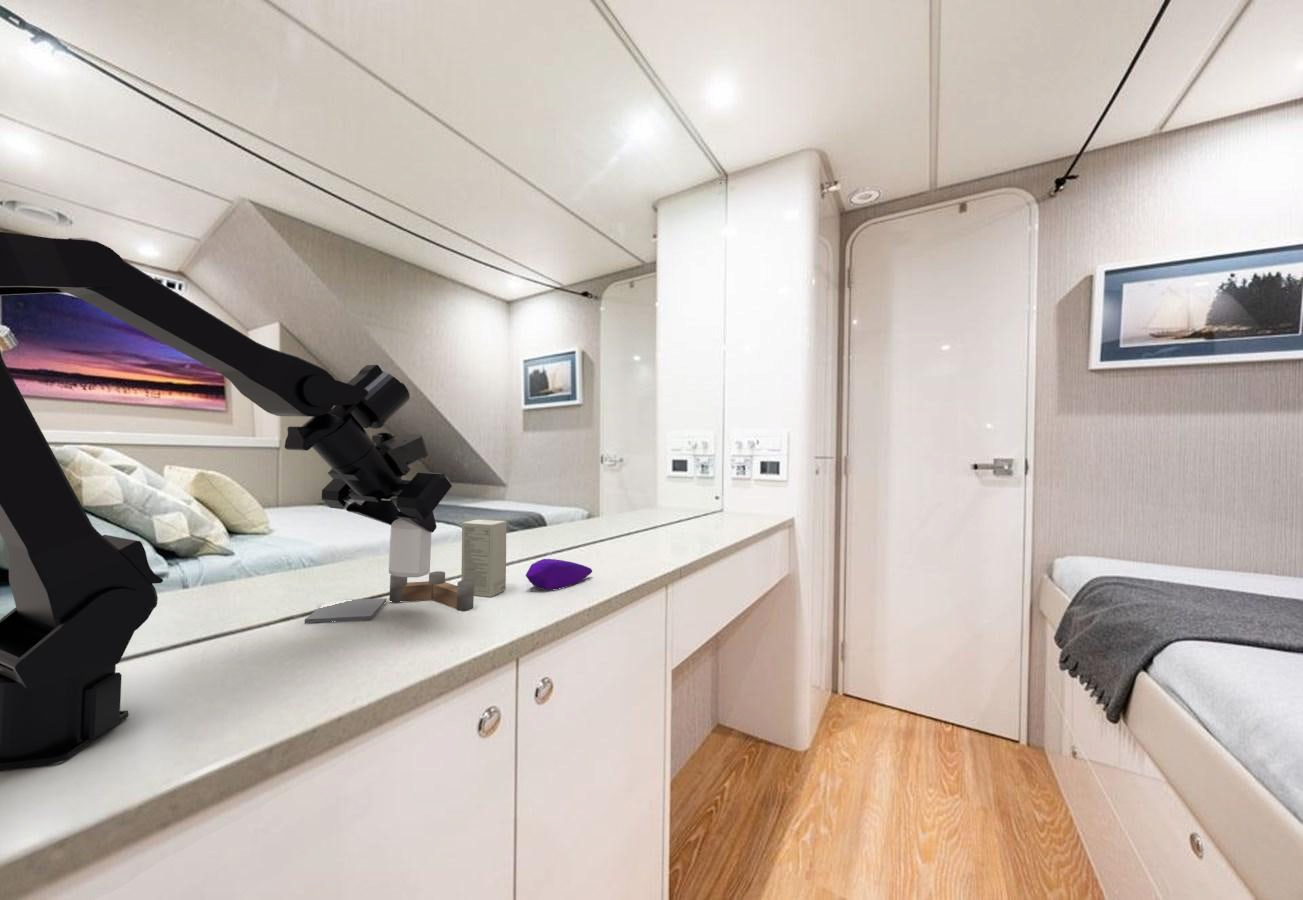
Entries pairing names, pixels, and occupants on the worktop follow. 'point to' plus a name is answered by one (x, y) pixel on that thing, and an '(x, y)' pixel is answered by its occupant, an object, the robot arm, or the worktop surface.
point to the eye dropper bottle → (409, 550)
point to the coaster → (347, 611)
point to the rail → (433, 591)
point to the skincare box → (484, 555)
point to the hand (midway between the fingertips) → (418, 528)
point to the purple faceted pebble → (556, 573)
